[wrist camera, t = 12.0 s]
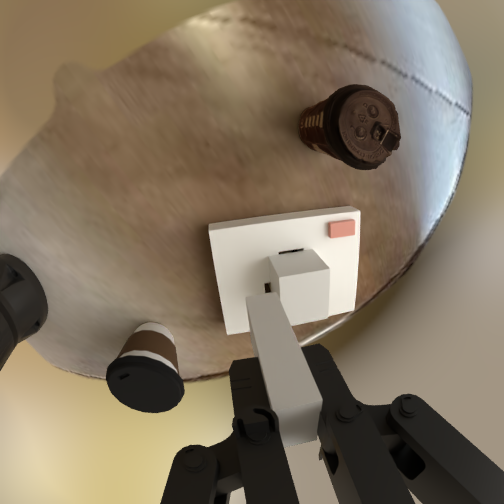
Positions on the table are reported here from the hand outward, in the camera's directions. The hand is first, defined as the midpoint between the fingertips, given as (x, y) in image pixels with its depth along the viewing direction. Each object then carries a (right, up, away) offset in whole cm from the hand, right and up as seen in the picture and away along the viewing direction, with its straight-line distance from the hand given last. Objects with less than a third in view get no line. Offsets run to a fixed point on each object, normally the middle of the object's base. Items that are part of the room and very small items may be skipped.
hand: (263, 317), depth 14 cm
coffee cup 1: (-16, -10, +29) cm, 35 cm away
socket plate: (+4, +1, +27) cm, 27 cm away
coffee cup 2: (+8, +19, +20) cm, 29 cm away
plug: (+4, +1, +27) cm, 27 cm away
